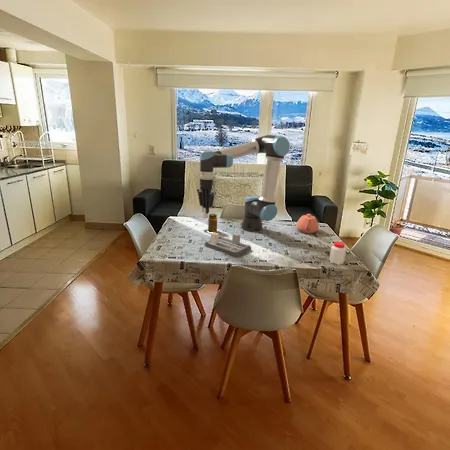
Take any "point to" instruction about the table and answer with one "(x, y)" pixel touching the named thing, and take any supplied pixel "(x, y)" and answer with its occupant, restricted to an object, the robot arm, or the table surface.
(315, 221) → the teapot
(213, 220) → the condiment
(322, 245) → the table surface
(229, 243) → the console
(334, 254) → the pill bottle
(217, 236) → the block
